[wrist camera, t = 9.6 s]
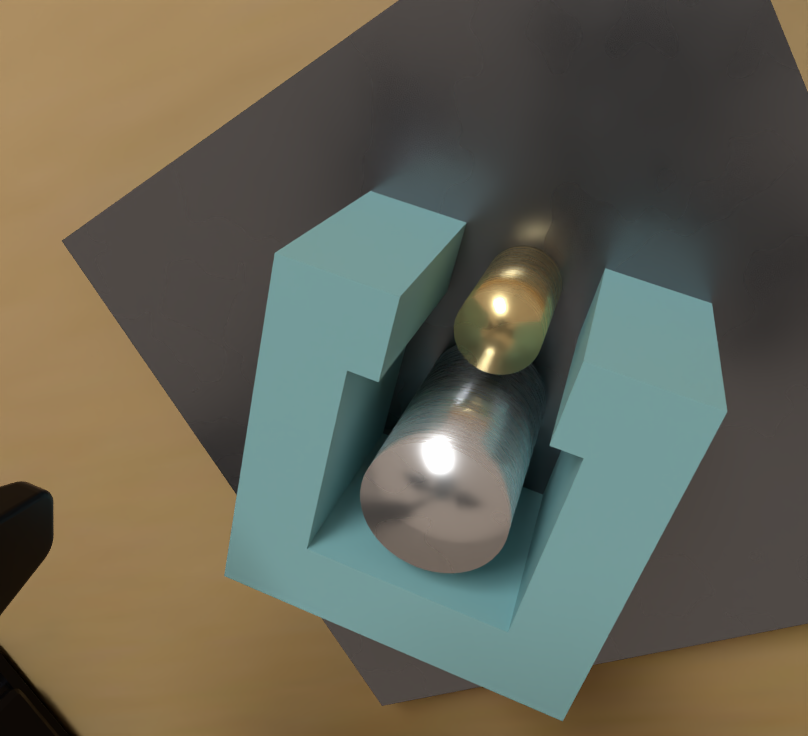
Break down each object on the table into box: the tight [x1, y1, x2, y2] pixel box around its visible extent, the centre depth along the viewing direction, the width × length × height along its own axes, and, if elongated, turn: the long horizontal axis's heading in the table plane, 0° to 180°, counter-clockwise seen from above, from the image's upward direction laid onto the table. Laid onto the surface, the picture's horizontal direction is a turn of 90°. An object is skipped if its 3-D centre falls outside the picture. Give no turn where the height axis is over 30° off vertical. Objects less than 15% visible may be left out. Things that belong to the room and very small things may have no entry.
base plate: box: [62, 0, 808, 706], centre depth 14 cm, size 14×14×5 cm
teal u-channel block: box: [224, 191, 727, 721], centre depth 13 cm, size 6×6×4 cm
